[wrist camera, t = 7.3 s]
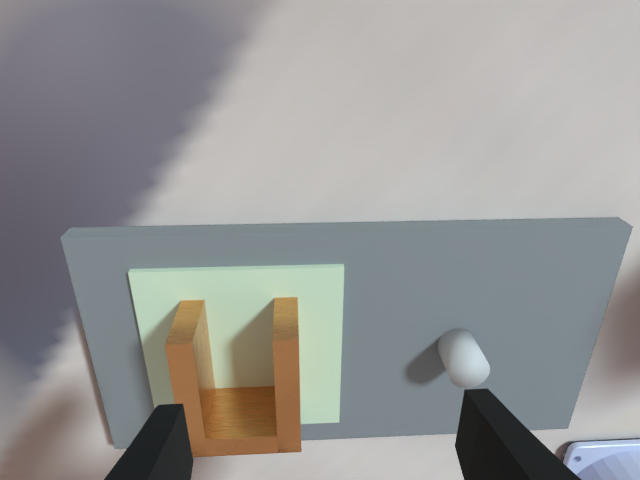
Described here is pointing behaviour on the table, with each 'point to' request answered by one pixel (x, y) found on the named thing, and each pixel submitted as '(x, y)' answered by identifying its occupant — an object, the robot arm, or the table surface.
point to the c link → (236, 403)
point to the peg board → (355, 315)
